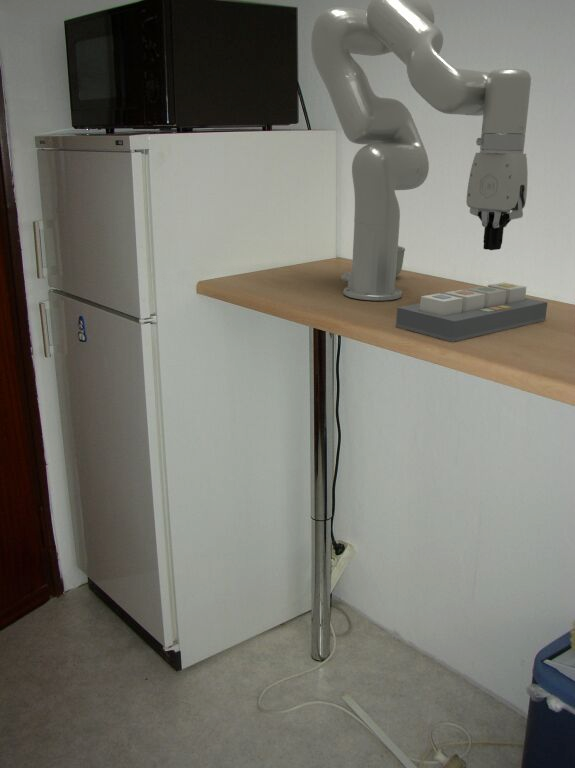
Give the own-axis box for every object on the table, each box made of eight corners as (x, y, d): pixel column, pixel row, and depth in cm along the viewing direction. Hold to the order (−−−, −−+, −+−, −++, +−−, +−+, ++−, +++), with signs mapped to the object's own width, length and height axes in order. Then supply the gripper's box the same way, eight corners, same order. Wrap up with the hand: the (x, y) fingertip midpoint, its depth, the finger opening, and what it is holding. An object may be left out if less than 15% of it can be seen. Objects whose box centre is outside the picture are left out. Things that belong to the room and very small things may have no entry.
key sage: (465, 304, 144) (466, 287, 143) (481, 301, 148) (483, 285, 147) (487, 309, 141) (489, 292, 140) (504, 306, 144) (506, 289, 143)
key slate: (419, 312, 136) (420, 295, 135) (438, 309, 140) (439, 292, 139) (442, 318, 133) (444, 300, 132) (461, 314, 136) (462, 297, 135)
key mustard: (486, 300, 148) (487, 284, 147) (502, 297, 152) (503, 281, 151) (508, 305, 145) (510, 288, 144) (524, 302, 148) (526, 286, 147)
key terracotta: (442, 308, 140) (444, 291, 139) (460, 305, 144) (462, 288, 143) (465, 313, 137) (467, 296, 136) (483, 310, 140) (485, 293, 139)
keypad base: (395, 326, 139) (397, 306, 138) (489, 308, 156) (491, 289, 155) (452, 342, 130) (454, 320, 129) (545, 320, 147) (547, 301, 146)
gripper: (455, 144, 138) (446, 246, 144) (526, 145, 127) (514, 255, 133) (480, 144, 143) (471, 243, 148) (551, 145, 132) (539, 252, 137)
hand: (492, 249), depth 141 cm, fingers closed
